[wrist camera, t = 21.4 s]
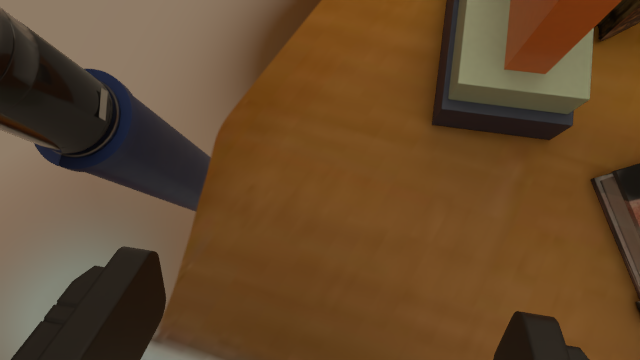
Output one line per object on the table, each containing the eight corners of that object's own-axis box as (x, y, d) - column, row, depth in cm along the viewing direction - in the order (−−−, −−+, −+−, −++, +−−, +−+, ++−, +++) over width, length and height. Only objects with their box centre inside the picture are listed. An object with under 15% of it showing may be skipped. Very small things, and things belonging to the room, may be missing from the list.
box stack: (431, 124, 49) (450, 93, 40) (452, -46, 52) (473, -110, 43) (549, 140, 48) (595, 111, 39) (562, -35, 51) (607, -98, 42)
